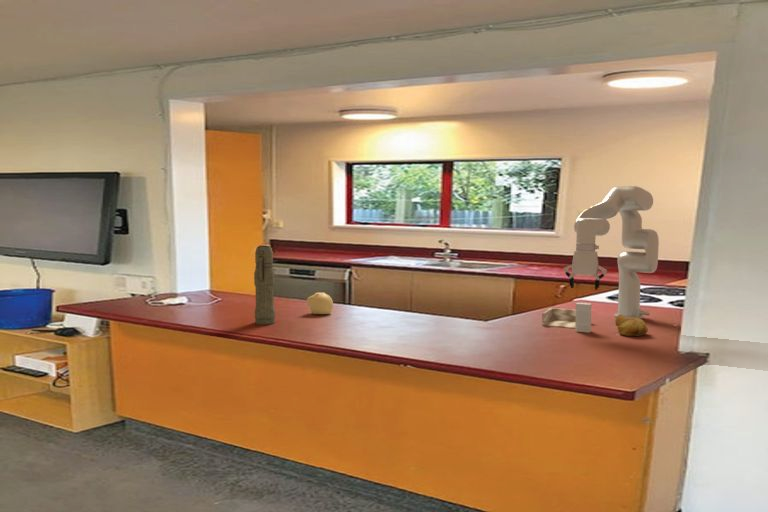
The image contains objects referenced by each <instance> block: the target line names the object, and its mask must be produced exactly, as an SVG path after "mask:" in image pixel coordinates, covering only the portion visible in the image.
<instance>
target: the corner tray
mask: <svg viewBox="0 0 768 512" xmlns="http://www.w3.org/2000/svg"><path fill="white" fill-rule="evenodd" d="M541 315H542V316H541V318H542V319H541V325H542V326H544V327H553V326H554V327H555V328H563V327H565V329H573V330H575V326H576V309H568V308H558V307H549V308H548V309H546V310H545V311H543V312H542V314H541Z"/></svg>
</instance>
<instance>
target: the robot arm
mask: <svg viewBox="0 0 768 512" xmlns="http://www.w3.org/2000/svg"><path fill="white" fill-rule="evenodd" d="M653 205H654V198H653V195H652V193H651V192H649V191H648V190H646V189H644V188H643V187H640V186H637V185H629V186H626V185H625V186H615V187H613V188H611V189H610V190H609V191H608V193H607V194H606V195H605V197H604V198H603V199H602V201H601V202H599V203H597V204H595V205H592V206H590V207H588V208H586V209H585V210H583V211H582V212H581V213H580V214H579V216H578V217H577V218H576V220H575V222H574V224H573V229H574V232H575V234H576V239H575V240H576V242H575V243H576V244H575V246H576V247H575V250H574V252H573V257H572V264H569V265H567V266H565V267H563V271H564V273H565V275H566V277H568V278H569V287H570V289H573V288H574V287H575V276H576V275H578V276H593V277H594V278H595V280H594V290H596V291H597V290H598V289H599V288H600V280H601V279H603V278H604V277H605V275H606V273H607V272H608V269H606V268H604V267H602V266H601V265H599V256H598V251H596V250H599V249H600V246H599V245H597V244H596V237H599V236H600V237H602V236H606V235H607V234H608V233H609V231H610V228H611V227H610V226H611V225H610V222H609V221H608V219H612V218H615V216H617V215H618V214H620V216H621V221H622V223H621V226H622V227H621V244H622V246H623V247H624V248H626V249H632V250H644V251H645V252H642V251H631V250H630V251H622V252H621V253H619V254H618V256H617V260H616V261H617V268H618V296H617V297H618V298H617V299H618V300H617V312H615V313H614V314H613V316H614V317H615V318H616V317H617V316H618V315H623V316H625V317H627V318H629V319H630V318H639V319H642V320H643V318H644V315H645V316H650V315H651V313H650V312H651V311H650V310H649V311H648V310H643V309H641V307H640V306H641V305H640V303H641V284H642V283H641V279H640V277H639V275H638V274H637V273H648V274H651V273H653V274H654V273H655V272H656V270H657V269H658V263H659V245H660V244H659V243H660V241H659V235H658V232H657V231H656V230H654V229H650V228H649V229H647V228H643V227H642V226H643V225H642V224H643V222H642V221H643V219H642V218H643V217H642V216H641V213H640V212H639V211H643V212H644V211H649V210H651V208H652V207H653ZM569 269H571V273H570V272H569ZM599 271H601V272H602V273H600V275H599V274H598V273H599Z"/></svg>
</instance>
